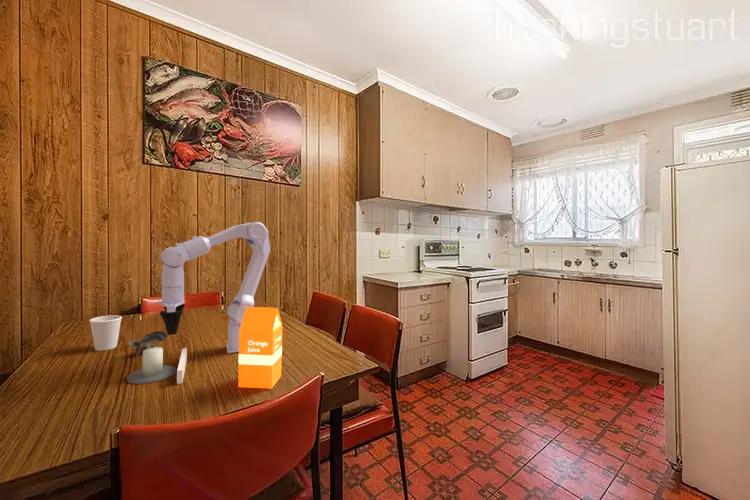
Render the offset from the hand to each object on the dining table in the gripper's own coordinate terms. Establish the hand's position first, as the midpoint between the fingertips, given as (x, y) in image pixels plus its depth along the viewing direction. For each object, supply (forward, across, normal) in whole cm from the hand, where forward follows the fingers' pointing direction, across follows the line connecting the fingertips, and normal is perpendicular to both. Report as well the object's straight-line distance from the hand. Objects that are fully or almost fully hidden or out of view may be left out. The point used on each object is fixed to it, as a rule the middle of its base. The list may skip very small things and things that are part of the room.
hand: (173, 330), depth 95 cm
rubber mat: (+9, +9, -4) cm, 14 cm away
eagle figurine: (+10, -12, -8) cm, 17 cm away
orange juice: (+10, +25, +22) cm, 35 cm away
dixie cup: (+9, -22, -21) cm, 32 cm away
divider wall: (+9, +9, +3) cm, 13 cm away
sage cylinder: (+9, +9, -4) cm, 13 cm away
